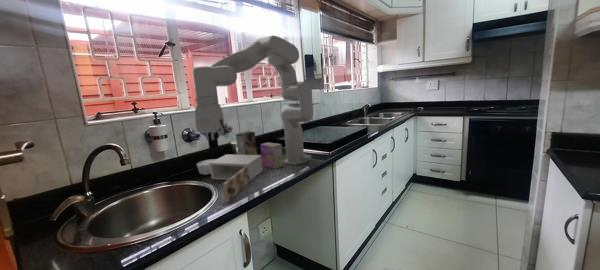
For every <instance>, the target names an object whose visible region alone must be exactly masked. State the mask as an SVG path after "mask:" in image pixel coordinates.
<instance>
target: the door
mask: <svg viewBox="0 0 600 270" xmlns="http://www.w3.org/2000/svg"><path fill="white" fill-rule="evenodd" d="M250 181H251V180H250V176H249V167H248V166H245V167H244V168H243V169H241V170H240V171H239V172H237V173H236V174H235V175H234V176H232V177H231V178H230V179H228V180H225V181H224V182H223V183H222V187H223V194H224V195H223V196H224V202H226V203H227V202H229V201H230V200H231V199H232V198H234V197H235V196H236V195H237V194H238V193H239V192H240V191H241V190H242V189H243V188H245V186H246V185H248V184H249V182H250Z"/></svg>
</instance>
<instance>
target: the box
mask: <svg viewBox="0 0 600 270" xmlns="http://www.w3.org/2000/svg"><path fill="white" fill-rule="evenodd" d="M260 151H261V156H262V166H263V167H268V168H273V169H278V168H280V167H283V166H284V159H283V147H282V144H281V143H275V142H269V141H268V142H264V143H260Z"/></svg>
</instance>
